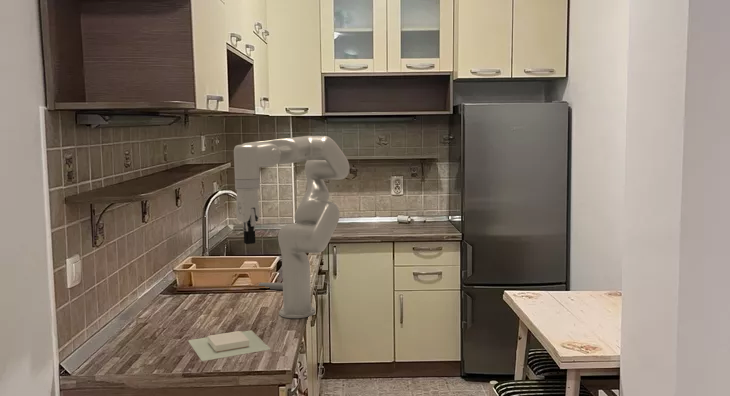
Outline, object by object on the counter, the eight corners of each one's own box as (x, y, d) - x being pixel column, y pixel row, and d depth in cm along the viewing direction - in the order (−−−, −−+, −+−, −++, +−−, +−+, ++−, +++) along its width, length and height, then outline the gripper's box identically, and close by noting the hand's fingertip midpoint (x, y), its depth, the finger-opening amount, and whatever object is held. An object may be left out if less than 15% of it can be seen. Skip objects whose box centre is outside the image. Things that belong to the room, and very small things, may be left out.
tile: (207, 335, 198) (215, 345, 189) (240, 330, 202) (249, 340, 193) (207, 342, 198) (215, 352, 189) (240, 337, 203) (249, 347, 194)
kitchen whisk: (259, 286, 269) (259, 271, 268) (334, 294, 256) (334, 278, 255) (251, 290, 263) (250, 275, 262) (327, 298, 250) (327, 281, 250)
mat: (187, 342, 201) (187, 340, 201) (251, 332, 209) (251, 330, 209) (202, 363, 183) (201, 361, 183) (270, 351, 192) (270, 349, 191)
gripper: (229, 183, 207) (231, 240, 209) (242, 187, 194) (244, 248, 196) (252, 182, 210) (254, 238, 213) (266, 185, 197) (268, 246, 199)
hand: (249, 243), depth 204 cm, fingers closed
